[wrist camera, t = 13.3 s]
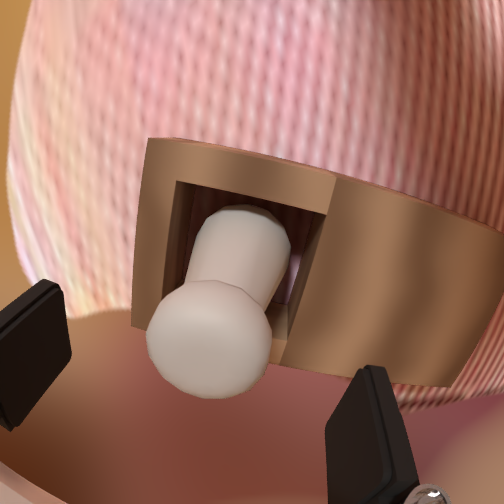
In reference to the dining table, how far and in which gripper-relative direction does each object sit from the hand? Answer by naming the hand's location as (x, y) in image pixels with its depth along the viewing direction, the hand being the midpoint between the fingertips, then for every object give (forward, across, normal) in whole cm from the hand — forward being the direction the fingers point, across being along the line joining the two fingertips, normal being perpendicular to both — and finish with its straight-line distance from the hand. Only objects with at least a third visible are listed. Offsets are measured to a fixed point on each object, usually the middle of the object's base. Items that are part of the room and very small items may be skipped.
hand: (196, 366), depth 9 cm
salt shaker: (+14, 0, +1) cm, 14 cm away
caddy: (+14, -6, +1) cm, 15 cm away
